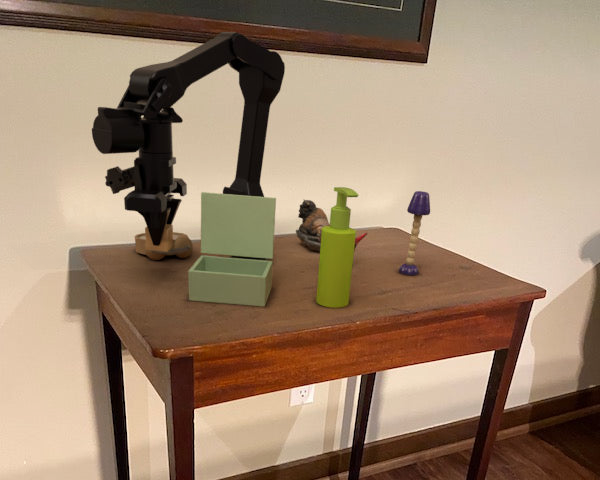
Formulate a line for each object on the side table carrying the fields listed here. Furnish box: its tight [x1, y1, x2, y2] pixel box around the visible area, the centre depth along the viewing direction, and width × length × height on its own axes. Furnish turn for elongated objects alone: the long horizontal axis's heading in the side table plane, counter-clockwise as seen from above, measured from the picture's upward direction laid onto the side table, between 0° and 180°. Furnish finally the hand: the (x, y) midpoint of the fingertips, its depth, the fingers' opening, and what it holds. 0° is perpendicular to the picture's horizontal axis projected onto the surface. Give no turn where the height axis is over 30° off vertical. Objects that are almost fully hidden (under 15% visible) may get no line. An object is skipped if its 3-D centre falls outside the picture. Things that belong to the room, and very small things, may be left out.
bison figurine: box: [295, 199, 330, 252], centre depth 143 cm, size 12×7×10 cm, turn 27°
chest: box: [187, 254, 274, 308], centre depth 111 cm, size 10×13×5 cm
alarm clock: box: [134, 231, 193, 261], centre depth 132 cm, size 11×5×15 cm
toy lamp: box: [398, 190, 431, 276], centre depth 128 cm, size 5×5×17 cm
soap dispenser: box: [315, 186, 359, 309], centre depth 107 cm, size 6×7×20 cm
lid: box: [200, 191, 277, 260], centre depth 112 cm, size 11×13×1 cm
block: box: [144, 224, 174, 252], centre depth 112 cm, size 4×4×4 cm
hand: (159, 242), depth 113 cm, fingers closed on block, 4 cm apart
